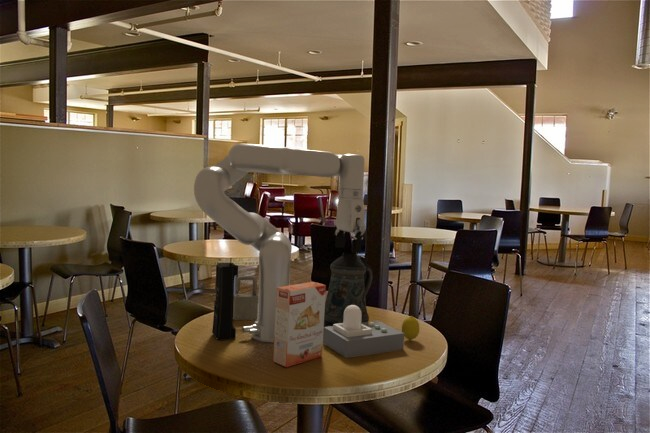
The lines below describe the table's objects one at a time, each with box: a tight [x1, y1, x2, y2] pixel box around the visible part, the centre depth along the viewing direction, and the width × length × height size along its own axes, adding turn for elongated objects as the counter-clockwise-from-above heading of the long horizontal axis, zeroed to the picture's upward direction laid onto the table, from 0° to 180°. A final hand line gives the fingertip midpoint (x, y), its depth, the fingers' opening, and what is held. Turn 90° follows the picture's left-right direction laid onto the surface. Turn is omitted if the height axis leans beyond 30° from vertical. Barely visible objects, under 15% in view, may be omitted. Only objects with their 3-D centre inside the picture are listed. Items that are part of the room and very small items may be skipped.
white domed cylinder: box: [343, 305, 362, 331], centre depth 157 cm, size 5×5×8 cm
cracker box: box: [272, 281, 327, 368], centre depth 145 cm, size 14×6×21 cm, turn 137°
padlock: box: [233, 275, 259, 321], centre depth 183 cm, size 4×8×15 cm, turn 110°
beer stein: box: [324, 251, 374, 327], centre depth 181 cm, size 16×19×25 cm
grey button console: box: [323, 320, 405, 359], centre depth 159 cm, size 20×14×6 cm
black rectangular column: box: [211, 257, 239, 341], centre depth 162 cm, size 8×6×25 cm
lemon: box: [401, 315, 420, 342], centre depth 166 cm, size 6×6×8 cm
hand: (348, 249), depth 163 cm, fingers open, 9 cm apart
